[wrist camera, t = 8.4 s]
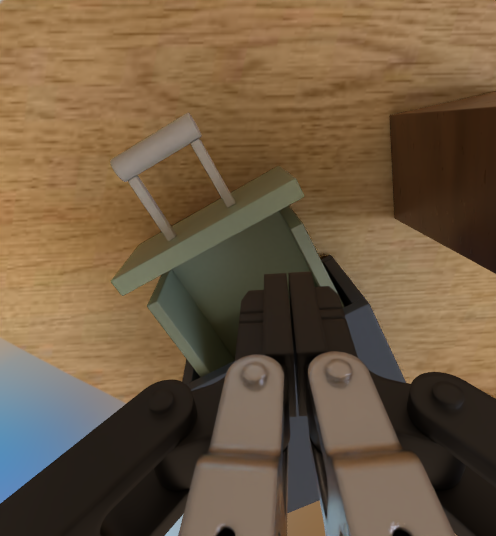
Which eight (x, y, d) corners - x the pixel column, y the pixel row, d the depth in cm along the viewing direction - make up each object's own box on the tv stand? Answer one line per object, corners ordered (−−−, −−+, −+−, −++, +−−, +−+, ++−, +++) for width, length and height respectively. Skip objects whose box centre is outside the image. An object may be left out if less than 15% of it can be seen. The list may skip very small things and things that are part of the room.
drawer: (91, 178, 26) (43, 196, 19) (240, 87, 24) (244, 72, 17) (224, 366, 32) (223, 426, 26) (348, 305, 31) (380, 354, 24)
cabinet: (192, 325, 32) (179, 395, 23) (330, 254, 30) (369, 303, 21) (267, 429, 37) (278, 517, 28) (388, 375, 35) (438, 452, 26)
